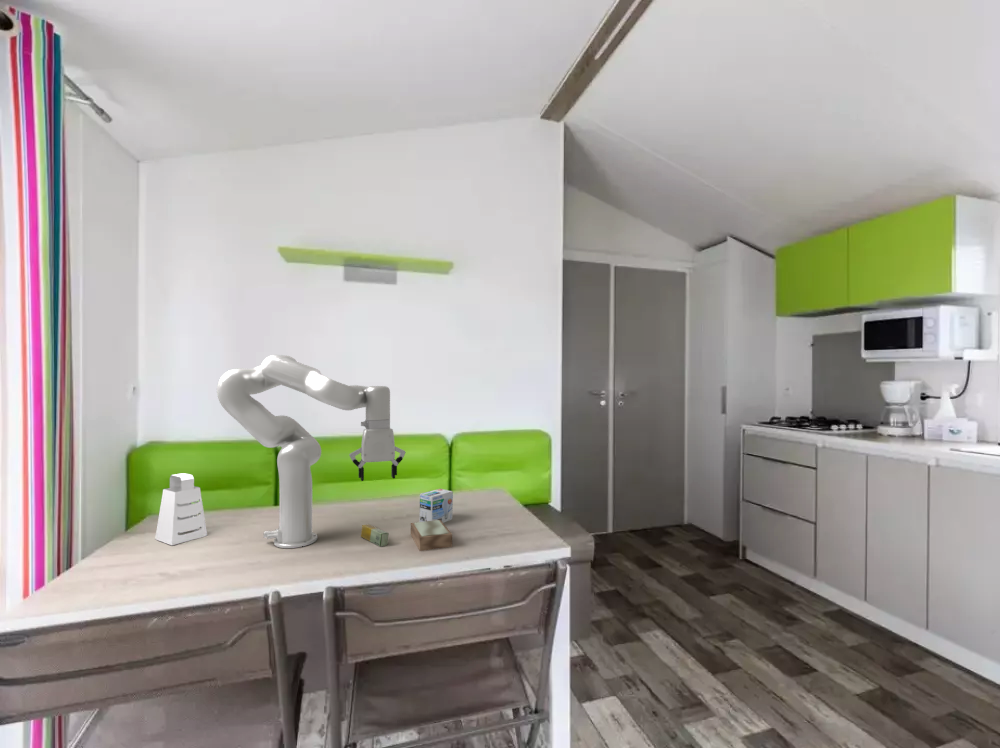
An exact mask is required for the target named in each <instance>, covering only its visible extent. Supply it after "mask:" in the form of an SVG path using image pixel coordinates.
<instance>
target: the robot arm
mask: <svg viewBox="0 0 1000 748" xmlns="http://www.w3.org/2000/svg"><path fill="white" fill-rule="evenodd" d="M278 386H279V387H280V386H284V387H285V388H289V389H291V390H295V391H297V392H300V393H302V394H305V395H306V396H308V397H310V398H313V399H315V400H317V401H318V402H321V403H323V404H326V405H328V406H331V407H334V408H337V409H339V410H342V411H354V410H358V409H360V408H361V409H362V408H365V420H364V421H361V422H360V426H361V427H364V429H363V432H362V437H361V447H359V448H358V449H356V450H354V451H352V452H350V453H349V458H350V460H351V461H352V463H353V464H354V465H355V466H356V467H357V468H358V478H359V479H360V481H361V482H363V481H365V469H364V465H366V463H378V462H380V463H381V462H391V470H390V471H391V478H392V479H396V476H397V475H398V466H399V464H400V463H401V462H402V460H403V458H404V457H405V455H406V450H404V449H402V448H400V447H398V446H395V436H394V429H393V428H391V390H390V387H388V386H386V385H372V386H366V385H365V386H364V385H357V384H354V385H347V384H345V383H342V382H339V381H336V380H333V379H332V378H329V377H327V376H325V375H324V374H323V373H322V372H321V371H320V370H319V369H317V368H315V367H313V366H309V365H307V364H304V363H301V362H299V361H297V360H296V359H295V358H293V357H292V356H289V355H283V354H271V355H269V356H267V357H265V358H264V359H263V361H261V364H260V365H258V366H255V367H253V368H243V367H242V368H232V369H229V370H227V371H226V372H224V373H223V374H222V375H221V376H220V378H219V380H218V382H217V388H216V390H217V391H216V393H217V399H218V401H219V404H220V405H221V406H222V408H223V409H224V411H226V412H227V413H228V414H229V415H230V416H231V417H232V418H233V419H234V420H235V421H236V422H238V423H239V424H240V426H242V427H243V429H244V430H246V432H248V434H250V435H251V436H252V437H253V438H254V439H255V440H256V441H257V442H258V443H260V444H261V445H262V447H265V448H269V449H270V448H271V449H272V448H277V447H281V448H280V450H279V452H278V454H277V459H276V463H277V470H278V479H279V481H278V483H279V484H278V485H279V519H278V520H279V526H278V528H275V529H274V530H265V531H263V538H265V539H267V540H269V539H270V540H271V539H273V545H274V546H275V547H277V548H279V549H280V548H281V549H295V548H303V547H305V546H309V545H312V544H313V543H315V542H316V541H317V540H318V534H317V533H315V532H313V477H312V476H313V475H312V471H311V466H313V465H314V464H316V463H317V462H318V461H319V460H320V458H321V457H322V448H321V445H320V443H319V442H318V440H317V439H316V438H315V437H314V436H313V435H311V433H309V432H308V431H307V429H305V428H304V427H303V426H302V425H301V424H300V423H299V422H298V421H296V420H295V419H294V418H292V417H290V416H288V415H282V414H281V415H274V414H273V412H271V411H269V409H267V408H266V407H265V405H263V404H262V403H261V402H259V401H258V400H257V399H255V398H254V397H252V395H257V394H261V393H263V392H266V391H268V390H271V389H273V388H276V387H278ZM396 453H399V456H398V457H397V458H396ZM358 455H361V459H360V460H358V459H357V458H356V456H358ZM395 458H396V459H395ZM302 546H303V547H302Z"/></svg>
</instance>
